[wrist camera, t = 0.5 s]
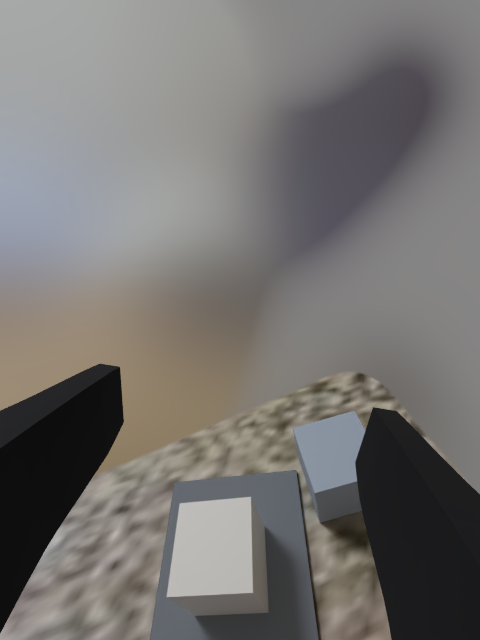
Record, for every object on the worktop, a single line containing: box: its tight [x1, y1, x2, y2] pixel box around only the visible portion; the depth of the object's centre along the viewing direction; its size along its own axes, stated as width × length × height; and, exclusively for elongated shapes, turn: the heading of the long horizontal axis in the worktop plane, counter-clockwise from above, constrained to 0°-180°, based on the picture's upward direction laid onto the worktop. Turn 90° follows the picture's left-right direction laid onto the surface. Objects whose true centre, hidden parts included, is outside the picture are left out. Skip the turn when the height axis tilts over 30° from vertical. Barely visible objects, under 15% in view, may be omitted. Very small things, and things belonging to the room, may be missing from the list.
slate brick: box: [293, 411, 365, 523], centre depth 23 cm, size 5×5×5 cm
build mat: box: [150, 470, 319, 640], centre depth 22 cm, size 12×10×1 cm
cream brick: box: [167, 497, 269, 616], centre depth 20 cm, size 5×5×5 cm
